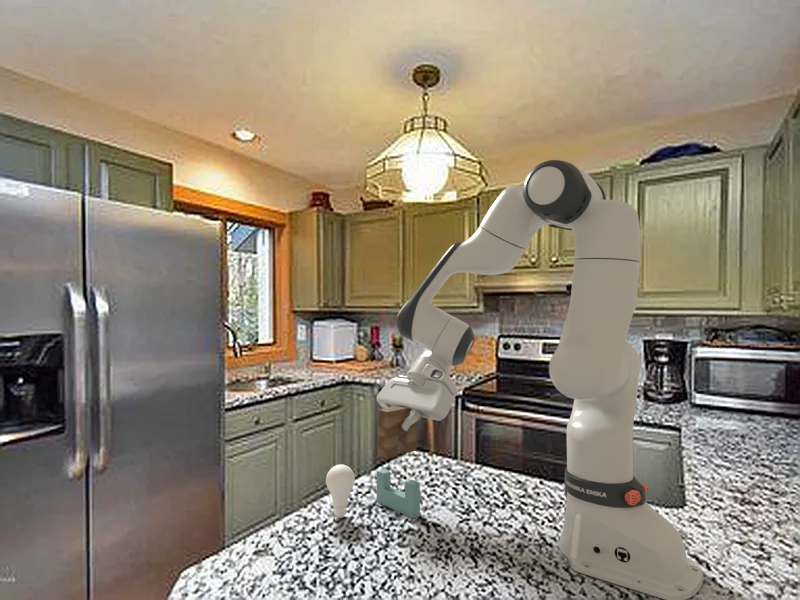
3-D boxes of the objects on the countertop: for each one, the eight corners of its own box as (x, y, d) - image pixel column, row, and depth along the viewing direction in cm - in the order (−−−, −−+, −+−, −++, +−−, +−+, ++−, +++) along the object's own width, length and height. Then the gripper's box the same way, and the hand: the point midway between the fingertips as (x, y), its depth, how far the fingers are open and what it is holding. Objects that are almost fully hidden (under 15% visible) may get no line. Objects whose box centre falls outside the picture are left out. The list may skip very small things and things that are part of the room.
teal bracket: (419, 515, 97) (419, 482, 97) (413, 518, 95) (413, 484, 96) (383, 499, 105) (383, 469, 106) (376, 501, 104) (376, 470, 104)
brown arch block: (416, 450, 103) (416, 406, 103) (386, 458, 97) (387, 411, 97) (407, 447, 105) (407, 404, 106) (377, 455, 99) (378, 409, 99)
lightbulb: (349, 525, 92) (349, 470, 93) (321, 522, 93) (321, 468, 94) (358, 512, 98) (358, 461, 99) (331, 510, 99) (331, 459, 100)
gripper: (389, 366, 114) (358, 411, 107) (451, 374, 99) (420, 426, 92) (402, 382, 117) (373, 427, 110) (464, 392, 102) (435, 444, 95)
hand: (395, 427), depth 101 cm, fingers closed on brown arch block, 3 cm apart
